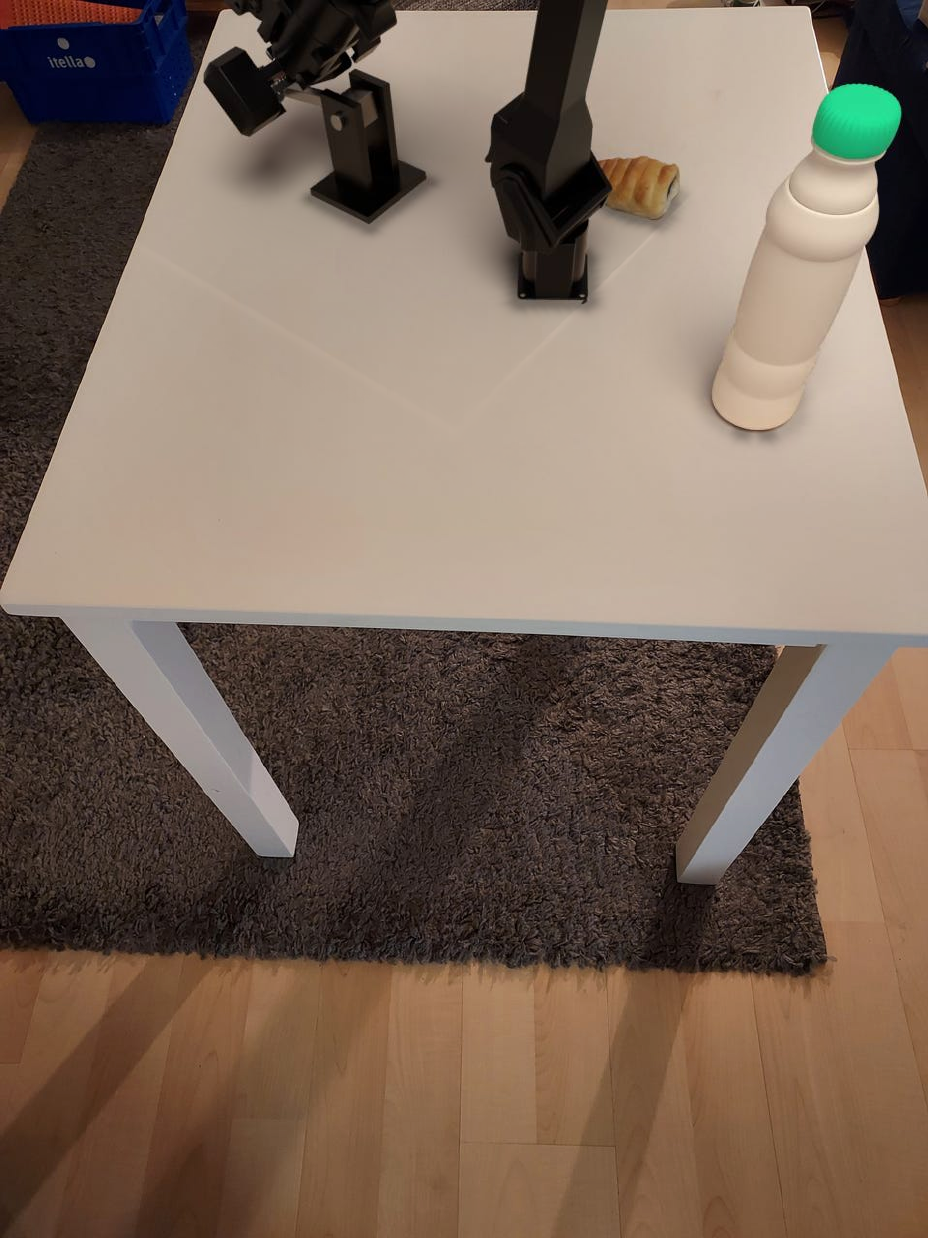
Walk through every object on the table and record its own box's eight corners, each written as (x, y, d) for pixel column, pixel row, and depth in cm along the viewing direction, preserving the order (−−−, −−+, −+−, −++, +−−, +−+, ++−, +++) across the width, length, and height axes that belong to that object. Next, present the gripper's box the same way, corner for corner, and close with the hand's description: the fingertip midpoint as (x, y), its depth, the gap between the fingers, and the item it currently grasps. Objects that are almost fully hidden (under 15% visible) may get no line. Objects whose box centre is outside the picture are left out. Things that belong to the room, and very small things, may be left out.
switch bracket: (312, 198, 87) (290, 96, 78) (369, 155, 90) (355, 52, 81) (369, 228, 84) (353, 125, 75) (426, 182, 87) (418, 78, 78)
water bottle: (799, 380, 72) (929, 74, 50) (790, 441, 69) (925, 143, 47) (716, 365, 73) (808, 60, 51) (703, 425, 70) (796, 126, 48)
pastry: (571, 205, 84) (575, 169, 81) (594, 167, 87) (598, 131, 84) (661, 227, 82) (668, 191, 79) (682, 187, 85) (689, 151, 82)
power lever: (253, 109, 85) (245, 83, 83) (291, 84, 87) (284, 58, 85) (351, 137, 79) (345, 110, 77) (389, 109, 81) (384, 82, 79)
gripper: (339, -126, 74) (279, -18, 87) (181, -38, 67) (142, 65, 80) (415, 1, 78) (347, 85, 91) (274, 96, 71) (223, 172, 85)
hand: (267, 99), depth 87 cm, fingers closed on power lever, 5 cm apart
